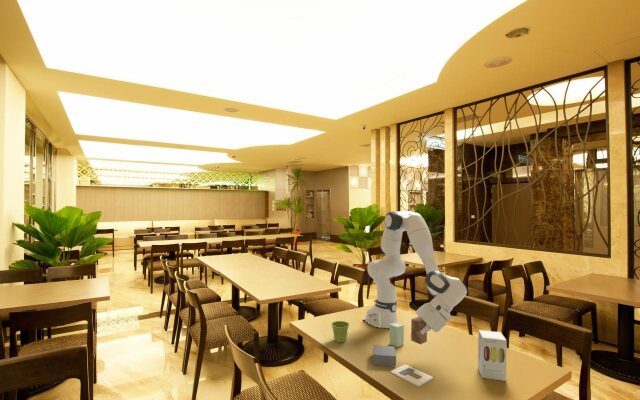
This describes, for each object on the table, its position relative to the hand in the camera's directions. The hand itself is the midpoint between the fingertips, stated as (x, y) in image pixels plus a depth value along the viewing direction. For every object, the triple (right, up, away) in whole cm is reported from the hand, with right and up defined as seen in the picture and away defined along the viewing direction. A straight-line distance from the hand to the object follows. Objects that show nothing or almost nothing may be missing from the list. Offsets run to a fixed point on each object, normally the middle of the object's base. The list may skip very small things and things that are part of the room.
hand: (417, 329), depth 154 cm
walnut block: (+1, -5, 0) cm, 5 cm away
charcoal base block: (-16, -14, -1) cm, 21 cm away
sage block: (-6, -14, +18) cm, 23 cm away
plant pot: (-34, -15, +22) cm, 43 cm away
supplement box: (+28, -15, -12) cm, 34 cm away
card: (-7, -14, -14) cm, 21 cm away
